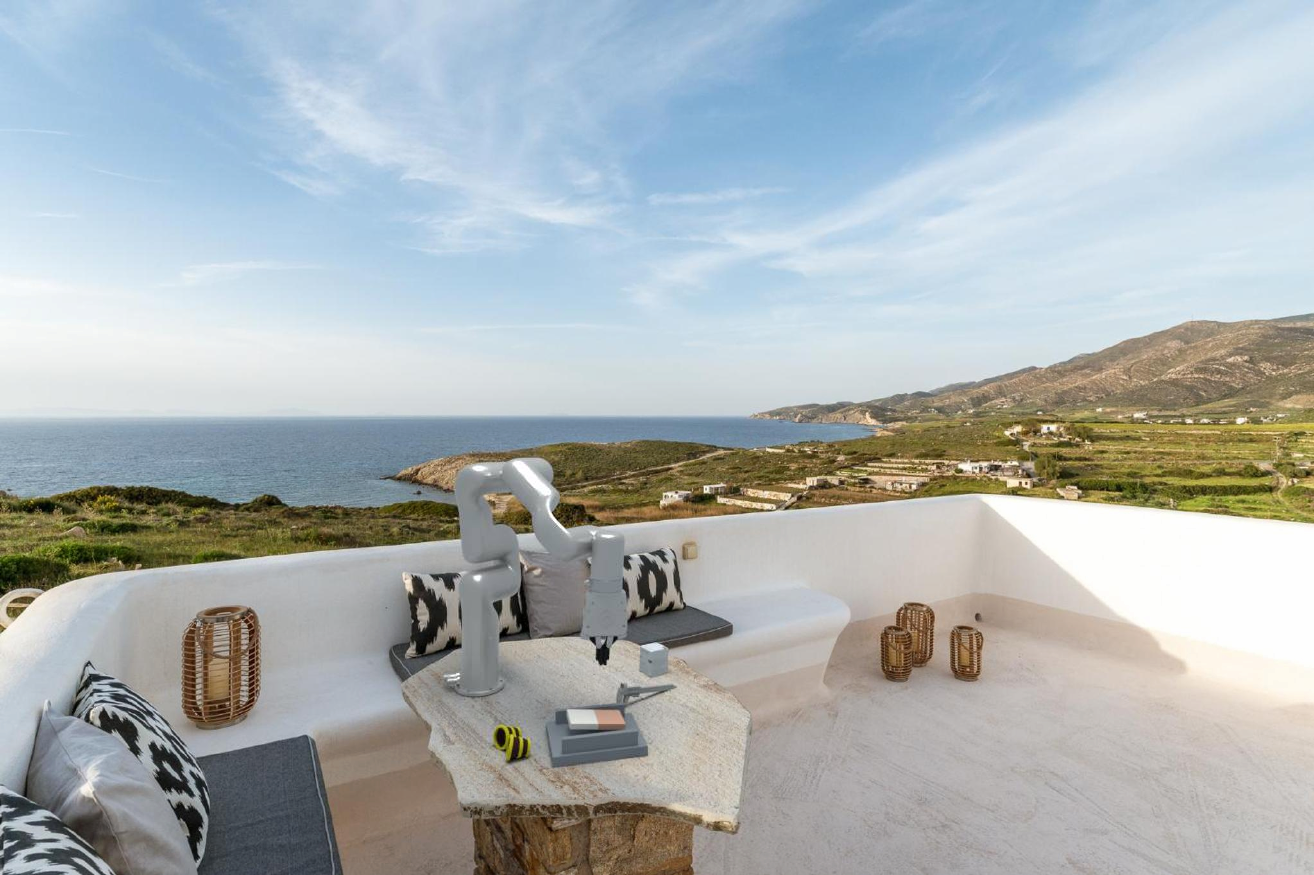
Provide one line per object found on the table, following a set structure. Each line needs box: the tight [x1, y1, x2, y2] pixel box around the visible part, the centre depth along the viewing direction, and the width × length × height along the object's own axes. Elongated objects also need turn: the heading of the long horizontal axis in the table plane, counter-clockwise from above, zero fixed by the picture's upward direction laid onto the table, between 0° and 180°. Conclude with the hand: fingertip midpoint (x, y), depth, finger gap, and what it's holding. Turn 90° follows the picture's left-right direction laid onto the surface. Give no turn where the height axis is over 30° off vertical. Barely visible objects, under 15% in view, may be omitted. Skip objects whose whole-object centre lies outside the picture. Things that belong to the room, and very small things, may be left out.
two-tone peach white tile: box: [566, 709, 626, 730], centre depth 135 cm, size 12×7×1 cm, turn 105°
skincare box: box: [638, 642, 669, 678], centre depth 176 cm, size 6×6×7 cm
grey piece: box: [545, 702, 649, 768], centre depth 135 cm, size 20×16×5 cm
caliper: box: [615, 682, 677, 708], centre depth 159 cm, size 20×1×6 cm, turn 133°
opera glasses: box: [492, 724, 532, 762], centre depth 131 cm, size 10×5×5 cm, turn 34°
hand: (602, 663), depth 142 cm, fingers closed
